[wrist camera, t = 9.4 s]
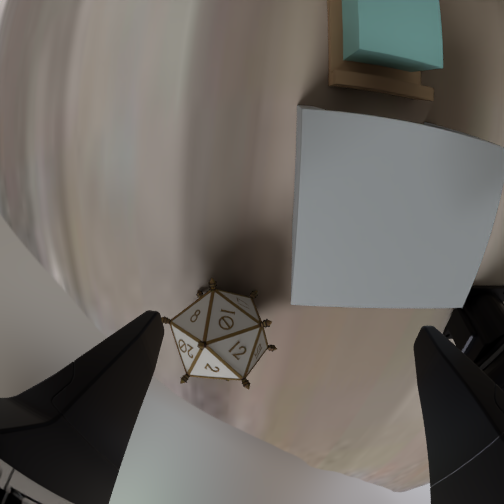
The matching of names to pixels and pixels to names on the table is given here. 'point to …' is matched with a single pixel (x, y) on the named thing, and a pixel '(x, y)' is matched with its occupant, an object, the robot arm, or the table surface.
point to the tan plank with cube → (367, 67)
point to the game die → (220, 335)
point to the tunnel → (389, 211)
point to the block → (393, 33)
